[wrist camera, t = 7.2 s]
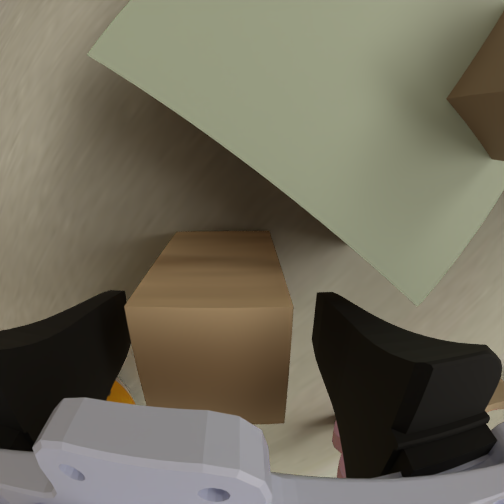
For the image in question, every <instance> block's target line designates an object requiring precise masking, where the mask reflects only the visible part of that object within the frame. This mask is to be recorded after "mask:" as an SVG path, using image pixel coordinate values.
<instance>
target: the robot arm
mask: <svg viewBox="0 0 504 504" xmlns="http://www.w3.org/2000/svg"><path fill="white" fill-rule="evenodd" d="M126 303H127V302H126V296H125V291H114V290H110V291H107V292H104V293H101V294H99V295H97V296H95V297H92V298H90V299H88V300H86V301H84V302H82V303H80V304H78V305H76V306H74V307H72V308H70V309H67V310H65V311H63V312H61V313H59V314H56V315H54V316H52V317H49V318H47V319H44V320H41V321H38V322H35V323H32V324H29V325H25V326H21V327H17V328H13V329H8V330H3V331H0V504H504V422H502V423H500V424H498V425H497V426H496V427H494V428H493V429H492V430H490V429H489V427H488V426H487V425H486V423H488V422H489V420H490V417H489V415H488V414H487V413H486V411H485V409H486V407H487V405H488V404H489V402H490V400H491V398H492V396H493V394H494V392H495V390H496V388H497V386H498V383H499V381H500V378H501V372H502V364H501V360H500V359H499V358H498V356H497V355H496V354H495V353H494V352H493V351H492V350H491V349H490V348H489V347H488V346H487V345H479V344H466V343H456V342H450V341H444V340H439V339H435V338H430V337H427V336H423V335H420V334H416V333H413V332H410V331H407V330H405V329H402V328H400V327H397V326H395V325H392V324H390V323H388V322H386V321H384V320H382V319H380V318H378V317H376V316H374V315H372V314H370V313H369V312H367V311H365V310H363V309H362V308H360V307H358V306H357V305H355V304H353V303H352V302H350V301H348V300H347V299H345V298H343V297H342V296H340V295H338V294H336V293H334V292H319V293H317V297H316V307H315V316H314V325H313V334H312V343H313V348H314V353H315V357H316V361H317V364H318V367H319V370H320V373H321V375H322V378H323V381H324V383H325V386H326V389H327V392H328V394H329V397H330V400H331V402H332V406H333V409H334V412H335V417H336V421H337V426H338V431H339V436H340V441H341V447H342V452H343V458H344V465H345V472H346V478H330V477H315V476H303V475H293V474H284V473H276V472H270V461H269V450H268V445H267V442H266V440H265V437H264V435H263V432H262V430H261V429H259V428H258V427H256V426H254V425H253V424H251V423H249V422H248V421H246V420H245V419H243V418H241V417H240V416H236V415H231V414H226V413H220V412H215V411H210V410H193V409H177V408H164V407H153V406H143V405H134V404H126V403H118V402H111V401H106V399H107V397H108V395H109V393H110V391H111V388H112V386H113V384H114V382H115V380H116V378H117V376H118V374H119V372H120V370H121V367H122V365H123V363H124V361H125V359H126V357H127V354H128V350H129V347H130V344H131V339H130V334H129V329H128V324H127V318H126V313H125V308H124V306H125V304H126Z"/></svg>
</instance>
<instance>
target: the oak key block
mask: <svg viewBox="0 0 504 504" xmlns="http://www.w3.org/2000/svg"><path fill="white" fill-rule="evenodd" d="M124 308H125V313H126V318H127V324H128V329H129V334H130V339H131V343H132V348H133V352H134V357H135V361H136V365H137V370H138V374H139V378H140V382H141V386H142V390H143V393H144V397H145V401H146V404H147V406H153V407H164V408H177V409H193V410H210V411H215V412H220V413H226V414H231V415H236V416H240V417H241V418H243V419H245V420H246V421H248V422H249V423H251V424H277V423H284V420H285V410H286V399H287V388H288V376H289V364H290V350H291V336H292V322H293V304H292V301H291V297H290V294H289V291H288V288H287V285H286V282H285V278H284V275H283V272H282V269H281V266H280V263H279V260H278V257H277V253H276V250H275V247H274V244H273V241H272V238H271V235H270V232H269V231H194V232H176V233H175V235H174V236H173V238H172V239H171V240H170V242H169V243H168V244H167V246H166V247H165V249H164V250H163V251H162V253H161V254H160V255H159V257H158V258H157V260H156V261H155V262H154V264H153V265H152V267H151V268H150V270H149V271H148V272H147V274H146V275H145V277H144V278H143V280H142V281H141V282H140V284H139V285H138V287H137V288H136V290H135V291H134V293H133V294H132V296H131V297H130V299H129V300H128V301H127V303H126V304H125V306H124Z"/></svg>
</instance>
